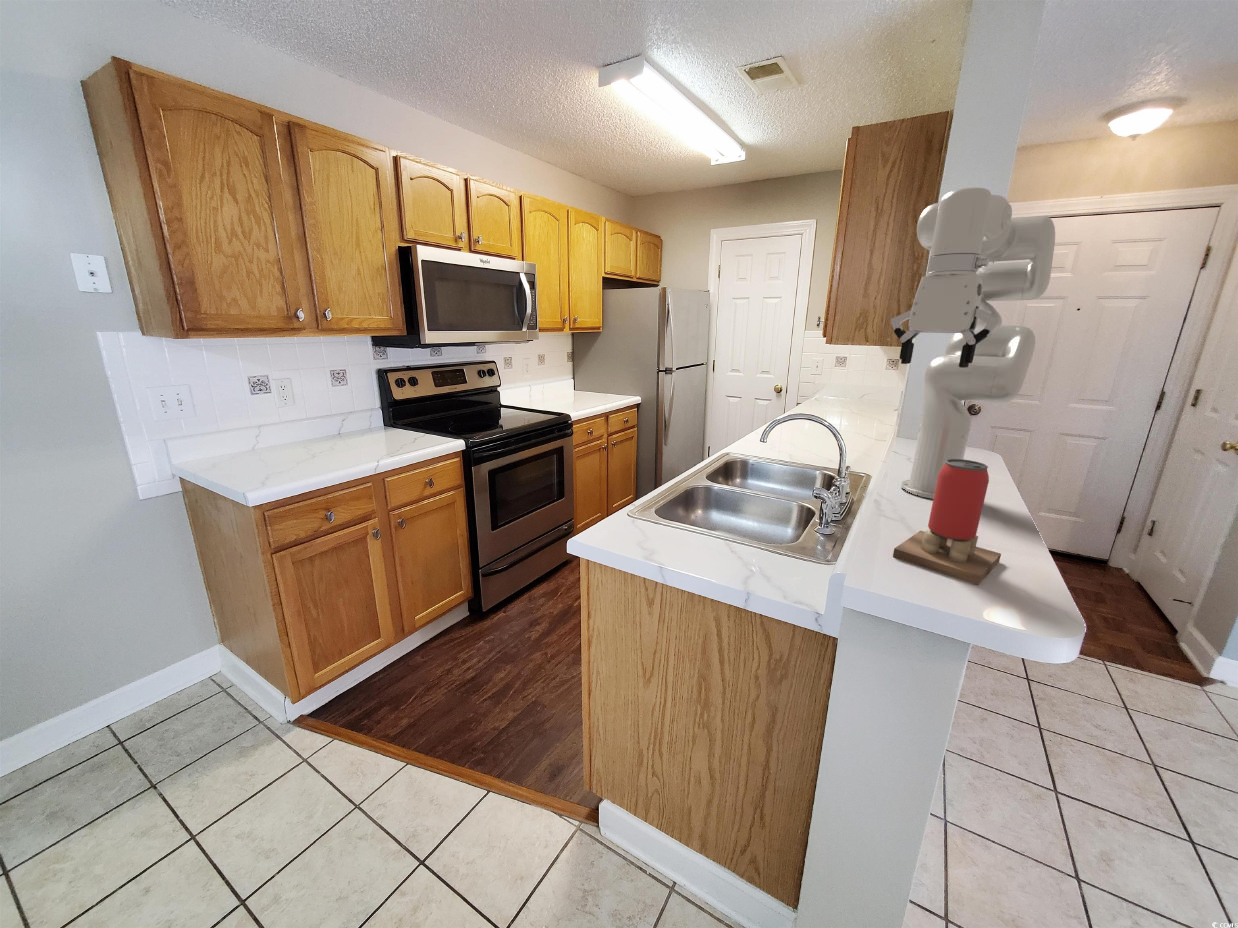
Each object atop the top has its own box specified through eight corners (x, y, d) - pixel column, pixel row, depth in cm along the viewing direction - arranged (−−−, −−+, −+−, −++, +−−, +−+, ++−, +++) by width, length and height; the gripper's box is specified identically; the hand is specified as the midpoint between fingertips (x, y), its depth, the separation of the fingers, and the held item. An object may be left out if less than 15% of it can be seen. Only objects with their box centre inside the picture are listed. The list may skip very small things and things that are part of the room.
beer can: (976, 545, 75) (994, 471, 72) (926, 535, 79) (941, 464, 75) (973, 531, 81) (990, 462, 77) (927, 522, 84) (941, 455, 81)
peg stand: (918, 538, 89) (923, 515, 88) (999, 561, 80) (1005, 536, 79) (892, 556, 81) (897, 531, 80) (978, 585, 72) (984, 557, 71)
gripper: (1017, 266, 83) (994, 368, 87) (907, 273, 95) (892, 362, 100) (1006, 261, 78) (982, 369, 83) (892, 269, 91) (877, 363, 95)
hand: (933, 365), depth 91 cm, fingers open, 9 cm apart
